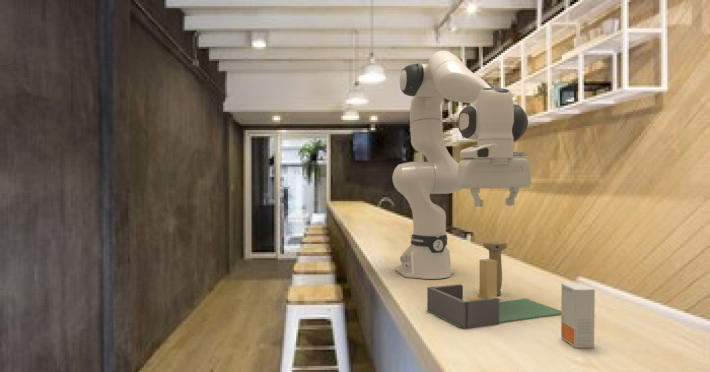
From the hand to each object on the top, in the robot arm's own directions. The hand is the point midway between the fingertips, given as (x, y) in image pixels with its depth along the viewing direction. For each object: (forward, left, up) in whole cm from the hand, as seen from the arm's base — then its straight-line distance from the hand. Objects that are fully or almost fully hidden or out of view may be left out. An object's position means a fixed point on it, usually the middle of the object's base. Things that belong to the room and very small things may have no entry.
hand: (494, 205), depth 129 cm
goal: (+2, -10, -27) cm, 29 cm away
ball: (+2, -6, -24) cm, 25 cm away
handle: (-14, +11, -27) cm, 32 cm away
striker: (+2, -3, -27) cm, 27 cm away
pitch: (+2, -1, -27) cm, 27 cm away
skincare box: (+27, +1, -27) cm, 38 cm away
